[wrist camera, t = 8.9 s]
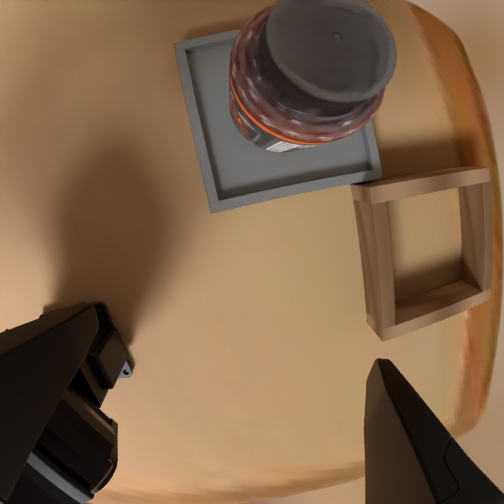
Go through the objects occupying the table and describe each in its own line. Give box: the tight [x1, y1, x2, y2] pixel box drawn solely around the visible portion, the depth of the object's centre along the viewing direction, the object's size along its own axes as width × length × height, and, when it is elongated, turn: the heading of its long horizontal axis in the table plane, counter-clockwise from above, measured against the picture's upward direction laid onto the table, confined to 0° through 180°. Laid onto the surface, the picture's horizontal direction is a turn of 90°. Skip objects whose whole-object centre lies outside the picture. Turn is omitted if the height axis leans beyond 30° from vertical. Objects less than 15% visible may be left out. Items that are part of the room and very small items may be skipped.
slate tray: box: [174, 29, 383, 213], centre depth 18 cm, size 11×11×2 cm
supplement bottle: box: [229, 0, 397, 152], centre depth 13 cm, size 6×6×11 cm
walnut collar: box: [351, 166, 493, 342], centre depth 20 cm, size 10×10×3 cm
